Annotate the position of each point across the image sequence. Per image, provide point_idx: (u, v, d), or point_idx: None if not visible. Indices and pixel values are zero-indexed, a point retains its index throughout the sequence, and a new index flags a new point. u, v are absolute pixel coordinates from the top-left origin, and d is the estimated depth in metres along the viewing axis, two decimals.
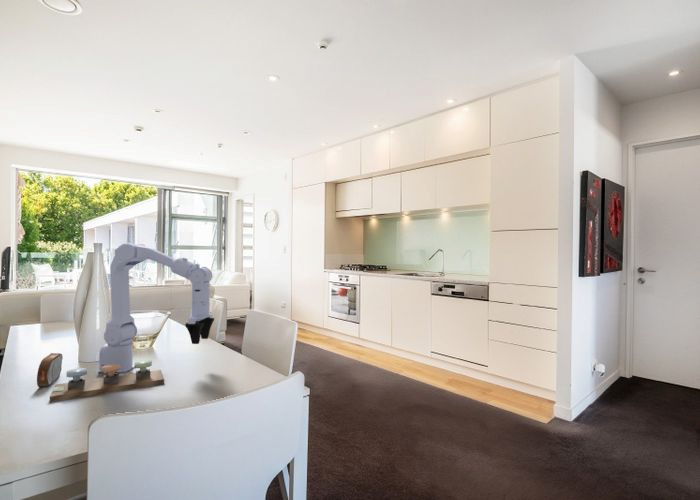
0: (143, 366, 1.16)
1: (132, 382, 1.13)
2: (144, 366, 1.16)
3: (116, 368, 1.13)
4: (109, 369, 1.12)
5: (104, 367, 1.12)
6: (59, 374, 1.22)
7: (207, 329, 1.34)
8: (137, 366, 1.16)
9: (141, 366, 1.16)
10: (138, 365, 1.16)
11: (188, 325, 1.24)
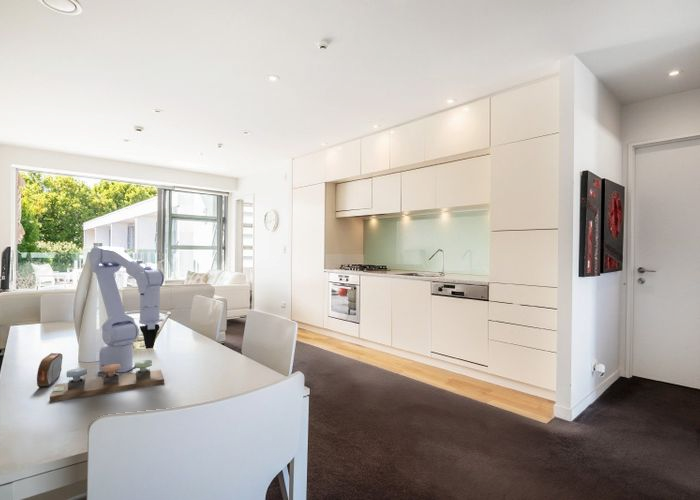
0: (143, 366, 1.16)
1: (132, 382, 1.13)
2: (144, 366, 1.16)
3: (116, 368, 1.13)
4: (109, 369, 1.12)
5: (104, 367, 1.12)
6: (59, 374, 1.22)
7: None
8: (137, 366, 1.16)
9: (141, 366, 1.16)
10: (138, 365, 1.16)
11: (145, 329, 1.20)
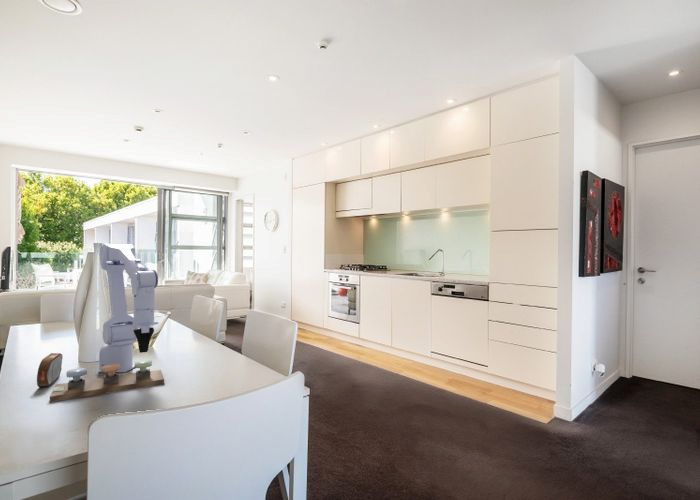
0: (143, 366, 1.16)
1: (132, 382, 1.13)
2: (144, 366, 1.16)
3: (116, 368, 1.13)
4: (109, 369, 1.12)
5: (104, 367, 1.12)
6: (59, 374, 1.22)
7: None
8: (137, 366, 1.16)
9: (141, 366, 1.16)
10: (138, 365, 1.16)
11: (138, 332, 1.15)
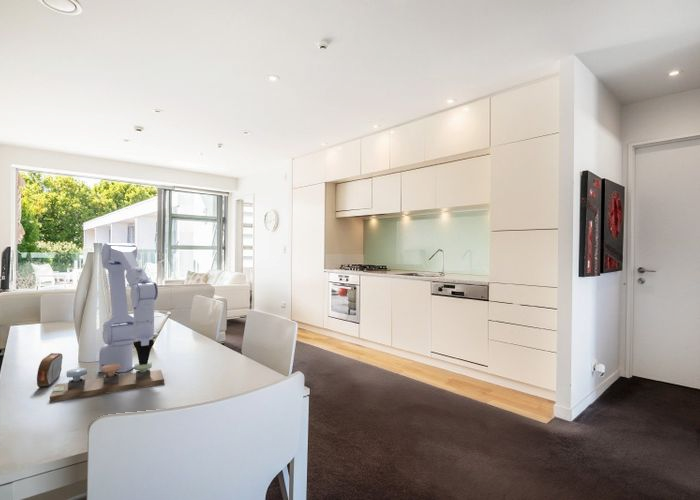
0: (143, 368, 1.16)
1: (132, 382, 1.13)
2: (144, 368, 1.16)
3: (116, 368, 1.13)
4: (109, 369, 1.12)
5: (104, 367, 1.12)
6: (59, 374, 1.22)
7: None
8: (137, 368, 1.16)
9: (141, 368, 1.16)
10: (138, 367, 1.16)
11: (138, 345, 1.15)
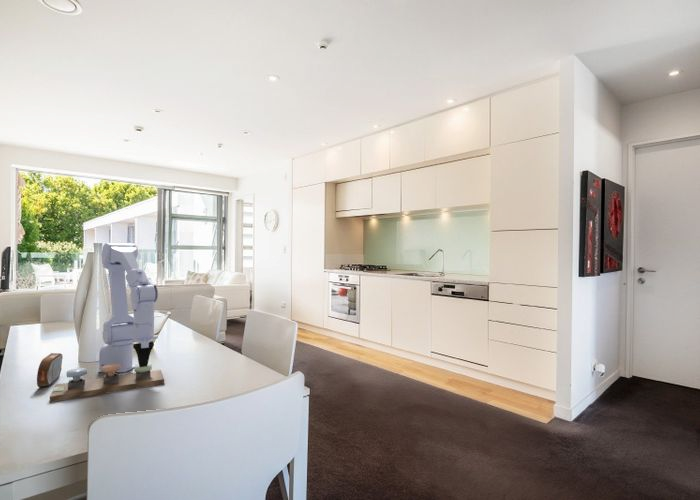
0: (143, 370, 1.16)
1: (132, 382, 1.13)
2: (144, 370, 1.16)
3: (116, 368, 1.13)
4: (109, 369, 1.12)
5: (104, 367, 1.12)
6: (59, 374, 1.22)
7: None
8: (137, 370, 1.16)
9: (141, 370, 1.16)
10: (138, 369, 1.16)
11: (138, 347, 1.15)
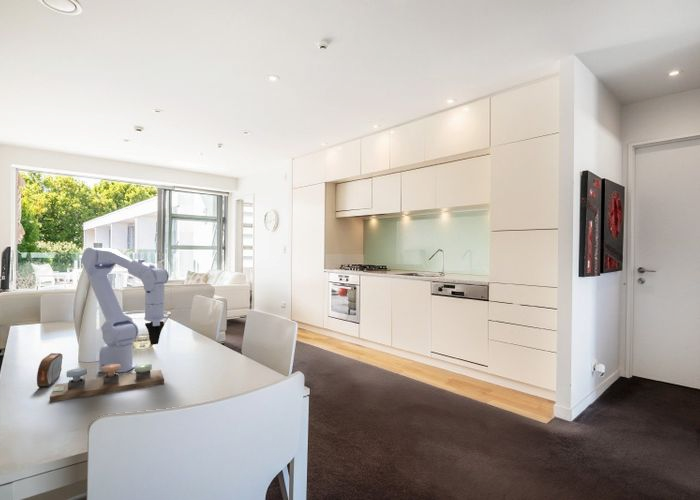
0: (143, 370, 1.16)
1: (132, 382, 1.13)
2: (144, 370, 1.16)
3: (116, 368, 1.13)
4: (109, 369, 1.12)
5: (104, 367, 1.12)
6: (59, 374, 1.22)
7: None
8: (137, 370, 1.16)
9: (141, 370, 1.16)
10: (138, 369, 1.16)
11: (150, 326, 1.24)
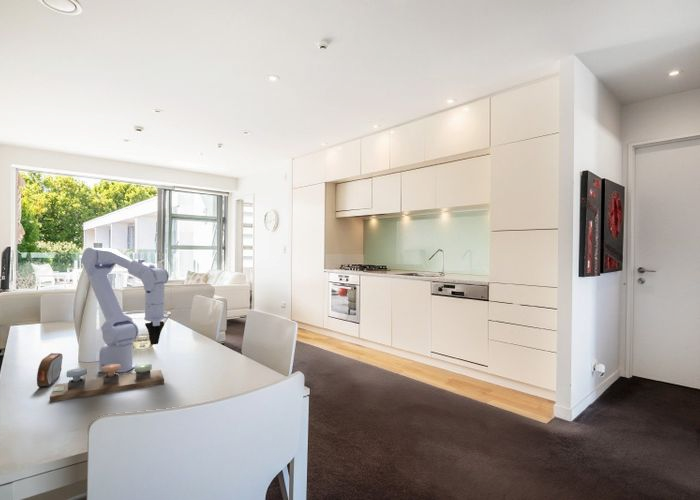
0: (143, 370, 1.16)
1: (132, 382, 1.13)
2: (144, 370, 1.16)
3: (116, 368, 1.13)
4: (109, 369, 1.12)
5: (104, 367, 1.12)
6: (59, 374, 1.22)
7: None
8: (137, 370, 1.16)
9: (141, 370, 1.16)
10: (138, 369, 1.16)
11: (150, 326, 1.24)
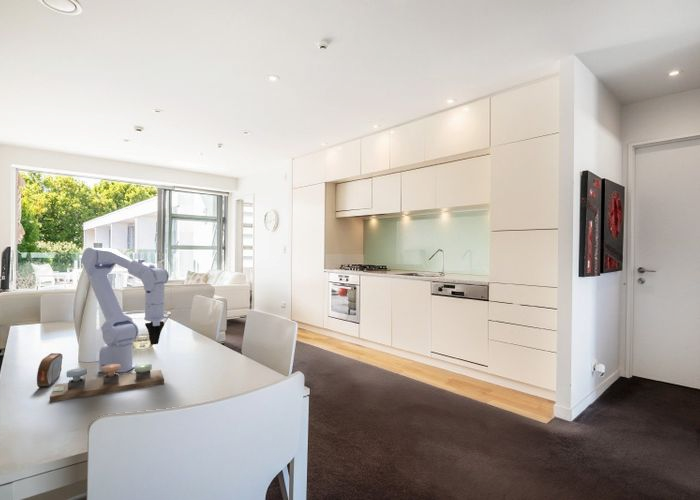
0: (143, 370, 1.16)
1: (132, 382, 1.13)
2: (144, 370, 1.16)
3: (116, 368, 1.13)
4: (109, 369, 1.12)
5: (104, 367, 1.12)
6: (59, 374, 1.22)
7: None
8: (137, 370, 1.16)
9: (141, 370, 1.16)
10: (138, 369, 1.16)
11: (150, 326, 1.24)
